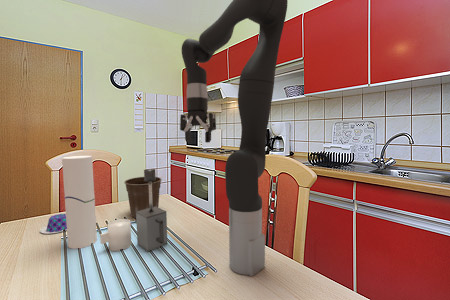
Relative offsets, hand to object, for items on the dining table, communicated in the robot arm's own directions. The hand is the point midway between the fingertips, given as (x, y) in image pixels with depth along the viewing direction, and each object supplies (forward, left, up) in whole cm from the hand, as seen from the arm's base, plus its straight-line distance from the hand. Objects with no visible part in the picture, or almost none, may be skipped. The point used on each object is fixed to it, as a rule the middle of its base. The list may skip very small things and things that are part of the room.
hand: (197, 142), depth 85 cm
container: (+24, +33, -34) cm, 53 cm away
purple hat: (+45, +36, -35) cm, 67 cm away
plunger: (+5, +17, -24) cm, 30 cm away
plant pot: (+34, +5, -35) cm, 48 cm away
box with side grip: (+3, +17, -34) cm, 38 cm away
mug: (+12, +26, -34) cm, 45 cm away
